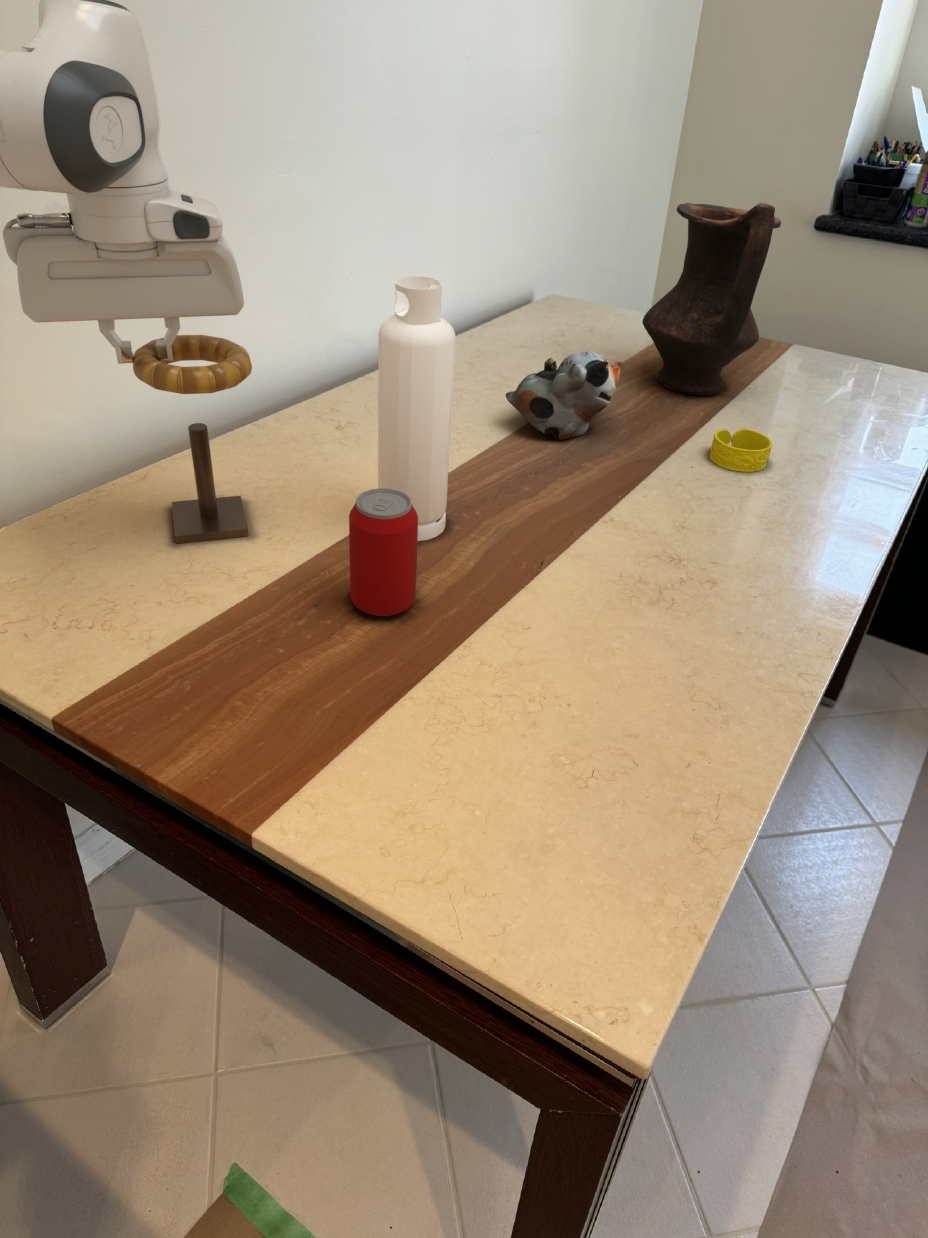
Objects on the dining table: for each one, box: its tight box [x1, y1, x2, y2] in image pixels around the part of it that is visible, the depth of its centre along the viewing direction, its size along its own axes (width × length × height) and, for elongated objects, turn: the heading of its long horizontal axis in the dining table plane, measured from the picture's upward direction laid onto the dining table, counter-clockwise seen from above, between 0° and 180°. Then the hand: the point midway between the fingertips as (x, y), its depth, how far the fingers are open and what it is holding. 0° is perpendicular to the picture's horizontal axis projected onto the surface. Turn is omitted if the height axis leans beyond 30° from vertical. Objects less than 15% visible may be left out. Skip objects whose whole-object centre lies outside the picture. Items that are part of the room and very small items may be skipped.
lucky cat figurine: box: [505, 350, 623, 441], centre depth 126 cm, size 15×12×14 cm
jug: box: [642, 202, 782, 396], centre depth 137 cm, size 21×18×30 cm
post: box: [171, 422, 250, 544], centre depth 98 cm, size 8×8×12 cm
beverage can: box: [348, 487, 419, 617], centre depth 88 cm, size 7×7×12 cm
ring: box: [132, 334, 253, 395], centre depth 90 cm, size 12×12×3 cm
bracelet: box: [709, 428, 773, 473], centre depth 123 cm, size 7×8×3 cm
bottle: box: [377, 275, 457, 542], centre depth 96 cm, size 8×8×28 cm
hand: (146, 360), depth 88 cm, fingers closed on ring, 2 cm apart
